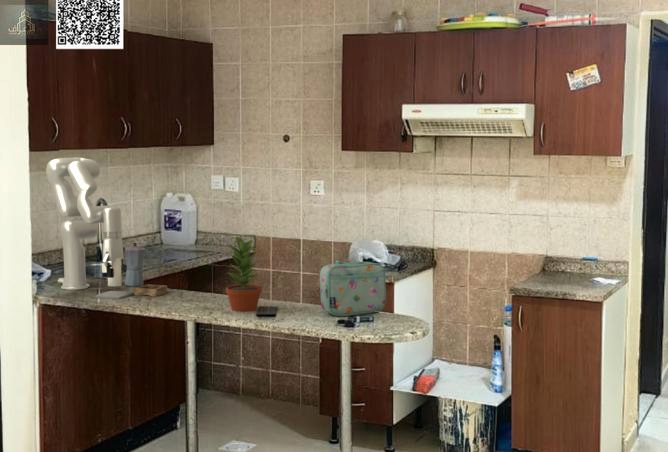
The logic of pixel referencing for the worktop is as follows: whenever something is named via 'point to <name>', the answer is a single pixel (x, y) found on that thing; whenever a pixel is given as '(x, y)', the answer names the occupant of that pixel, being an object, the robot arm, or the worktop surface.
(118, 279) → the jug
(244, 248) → the potted plant
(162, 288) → the holder
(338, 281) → the lunch box
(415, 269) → the worktop surface
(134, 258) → the moka pot
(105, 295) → the plate
